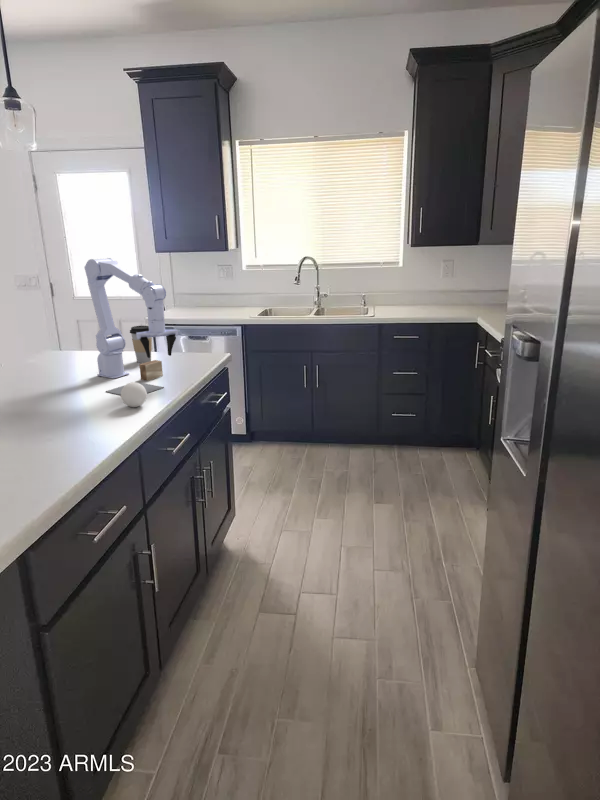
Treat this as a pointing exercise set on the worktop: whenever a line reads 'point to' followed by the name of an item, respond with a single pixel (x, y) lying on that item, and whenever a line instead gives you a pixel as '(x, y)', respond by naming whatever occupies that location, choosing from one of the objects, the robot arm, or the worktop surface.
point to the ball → (133, 394)
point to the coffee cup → (140, 344)
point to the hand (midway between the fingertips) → (159, 356)
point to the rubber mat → (148, 387)
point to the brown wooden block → (151, 370)
